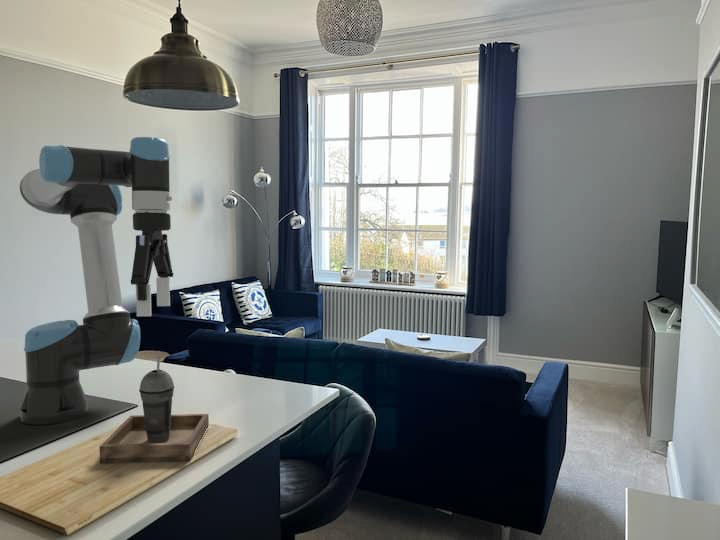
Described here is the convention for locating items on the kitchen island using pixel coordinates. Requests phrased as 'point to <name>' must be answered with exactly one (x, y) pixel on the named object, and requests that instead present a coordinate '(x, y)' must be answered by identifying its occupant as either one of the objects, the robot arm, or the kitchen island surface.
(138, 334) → the robot arm
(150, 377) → the beverage cup
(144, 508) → the kitchen island surface
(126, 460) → the serving tray
